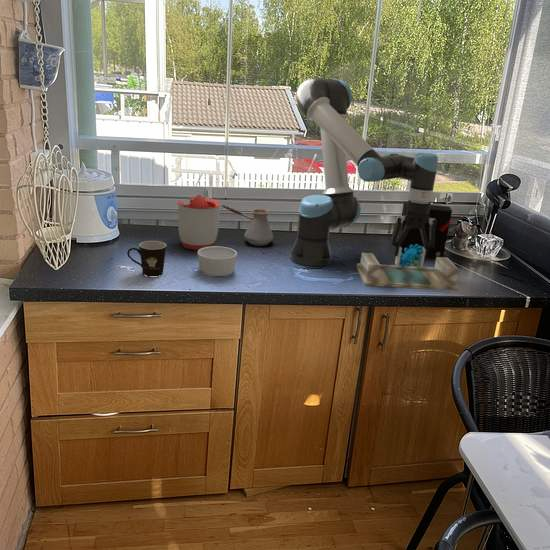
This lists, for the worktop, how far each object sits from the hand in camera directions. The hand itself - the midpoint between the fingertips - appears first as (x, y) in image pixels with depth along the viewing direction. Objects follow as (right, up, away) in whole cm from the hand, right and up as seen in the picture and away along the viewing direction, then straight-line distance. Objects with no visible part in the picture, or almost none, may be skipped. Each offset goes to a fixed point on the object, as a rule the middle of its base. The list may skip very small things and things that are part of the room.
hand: (408, 265), depth 197 cm
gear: (0, -1, 0) cm, 1 cm away
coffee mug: (-88, -3, -10) cm, 88 cm away
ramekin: (-66, -2, -3) cm, 66 cm away
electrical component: (+11, +4, +30) cm, 32 cm away
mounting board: (0, -5, +3) cm, 6 cm away
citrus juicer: (-76, +8, +20) cm, 79 cm away
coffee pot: (-58, +9, +28) cm, 65 cm away
